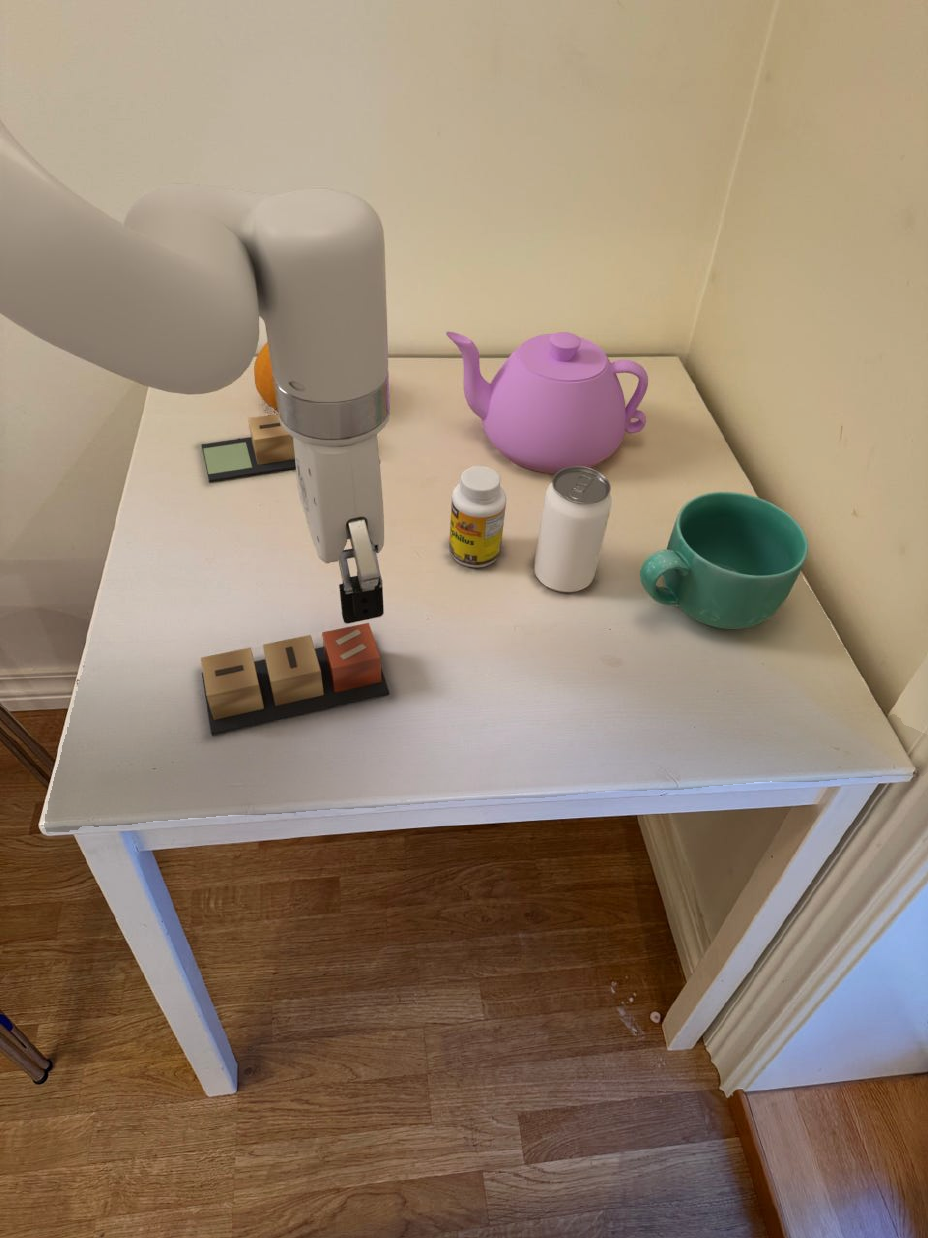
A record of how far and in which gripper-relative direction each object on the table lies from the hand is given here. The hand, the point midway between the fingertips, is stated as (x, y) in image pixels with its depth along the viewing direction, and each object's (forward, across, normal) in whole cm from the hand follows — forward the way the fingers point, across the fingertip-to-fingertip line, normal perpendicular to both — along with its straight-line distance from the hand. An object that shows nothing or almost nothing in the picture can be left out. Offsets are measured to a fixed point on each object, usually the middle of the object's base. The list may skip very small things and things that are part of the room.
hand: (349, 575), depth 68 cm
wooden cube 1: (+12, 0, -11) cm, 17 cm away
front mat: (+13, 0, -6) cm, 14 cm away
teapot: (+13, -30, +31) cm, 45 cm away
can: (+13, -7, +24) cm, 28 cm away
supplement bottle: (+13, -12, +16) cm, 24 cm away
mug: (+13, +1, +36) cm, 38 cm away
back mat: (+13, -35, -2) cm, 37 cm away
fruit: (+13, -45, +4) cm, 47 cm away
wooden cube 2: (+12, 0, -6) cm, 14 cm away
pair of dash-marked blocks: (+12, -35, +1) cm, 37 cm away
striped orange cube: (+12, 0, 0) cm, 12 cm away
